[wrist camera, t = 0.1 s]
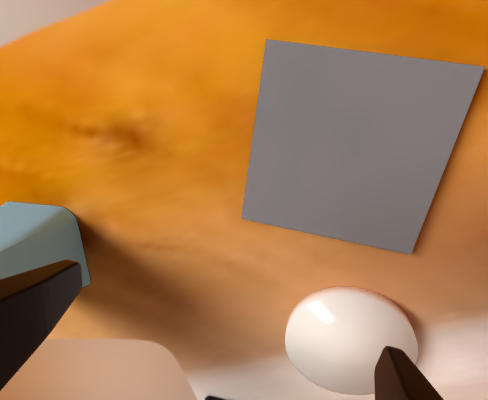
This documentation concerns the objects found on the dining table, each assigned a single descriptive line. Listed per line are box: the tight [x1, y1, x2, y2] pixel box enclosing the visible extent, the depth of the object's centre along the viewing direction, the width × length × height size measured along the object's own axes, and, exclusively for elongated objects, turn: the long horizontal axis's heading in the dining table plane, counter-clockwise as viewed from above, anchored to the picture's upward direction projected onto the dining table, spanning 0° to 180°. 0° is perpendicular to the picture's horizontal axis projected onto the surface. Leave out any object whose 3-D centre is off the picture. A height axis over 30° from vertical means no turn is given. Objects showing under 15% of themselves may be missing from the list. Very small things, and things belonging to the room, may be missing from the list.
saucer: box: [285, 286, 418, 395], centre depth 26 cm, size 10×10×2 cm
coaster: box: [242, 39, 485, 255], centre depth 21 cm, size 12×12×1 cm
